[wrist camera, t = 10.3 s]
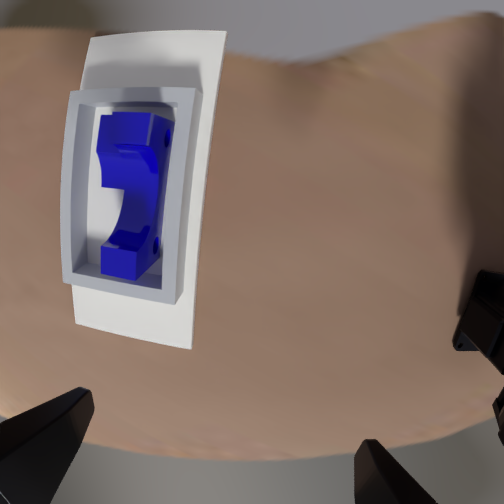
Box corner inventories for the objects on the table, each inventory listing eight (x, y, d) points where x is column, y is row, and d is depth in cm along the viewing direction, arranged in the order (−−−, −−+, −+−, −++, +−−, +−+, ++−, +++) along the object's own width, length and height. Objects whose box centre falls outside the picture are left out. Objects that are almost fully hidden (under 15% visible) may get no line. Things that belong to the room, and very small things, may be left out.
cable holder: (120, 119, 17) (86, 111, 13) (175, 122, 17) (151, 112, 13) (109, 248, 19) (77, 268, 15) (160, 257, 19) (135, 281, 15)
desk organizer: (227, 34, 15) (221, 17, 13) (193, 344, 21) (184, 366, 19) (95, 40, 16) (75, 28, 13) (79, 319, 21) (62, 336, 19)
